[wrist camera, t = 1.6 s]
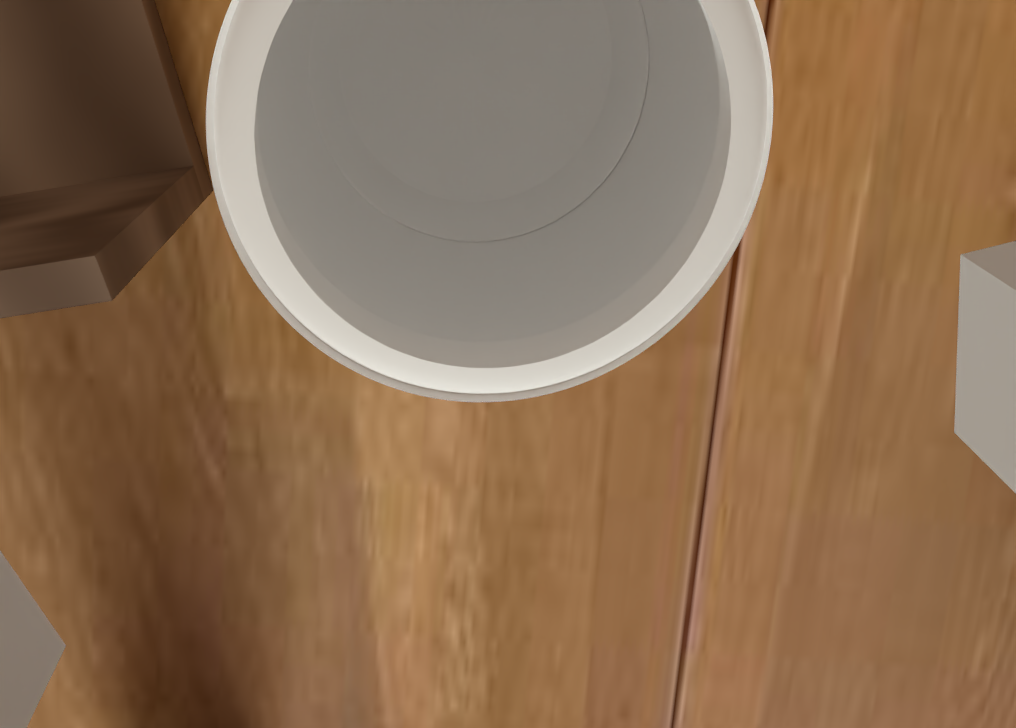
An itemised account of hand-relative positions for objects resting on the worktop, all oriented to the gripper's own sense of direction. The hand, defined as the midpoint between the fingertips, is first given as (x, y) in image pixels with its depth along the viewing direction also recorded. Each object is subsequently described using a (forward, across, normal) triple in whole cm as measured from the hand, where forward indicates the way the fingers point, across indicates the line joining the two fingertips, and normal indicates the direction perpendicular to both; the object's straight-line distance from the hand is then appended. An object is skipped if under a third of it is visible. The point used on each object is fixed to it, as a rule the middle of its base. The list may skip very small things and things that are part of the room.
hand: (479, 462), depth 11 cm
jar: (+21, -2, -2) cm, 21 cm away
